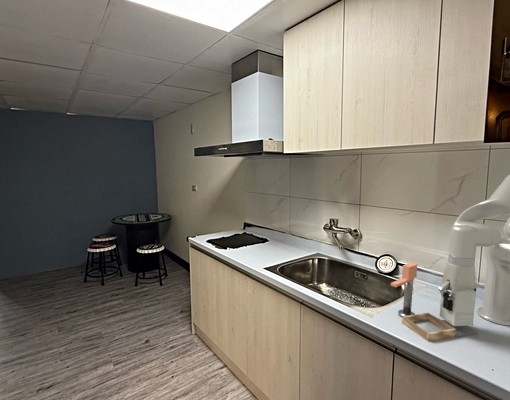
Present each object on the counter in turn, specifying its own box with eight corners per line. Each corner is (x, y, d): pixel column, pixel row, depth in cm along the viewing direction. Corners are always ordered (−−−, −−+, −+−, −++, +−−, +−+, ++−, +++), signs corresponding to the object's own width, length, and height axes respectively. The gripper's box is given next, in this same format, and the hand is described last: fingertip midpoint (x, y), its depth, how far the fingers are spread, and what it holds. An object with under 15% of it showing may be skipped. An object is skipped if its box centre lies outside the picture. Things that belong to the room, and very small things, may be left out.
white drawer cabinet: (457, 315, 108) (460, 282, 106) (473, 326, 100) (477, 291, 99) (438, 315, 107) (441, 283, 106) (453, 326, 100) (456, 291, 98)
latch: (416, 279, 112) (417, 264, 111) (396, 287, 104) (397, 271, 103) (410, 277, 114) (411, 262, 113) (390, 285, 106) (391, 269, 105)
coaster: (453, 320, 109) (453, 318, 109) (477, 333, 101) (477, 331, 101) (434, 323, 107) (434, 321, 107) (456, 337, 98) (456, 335, 98)
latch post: (407, 310, 116) (409, 276, 115) (419, 318, 111) (421, 282, 109) (394, 312, 115) (396, 277, 113) (406, 320, 109) (408, 283, 108)
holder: (427, 318, 110) (428, 312, 110) (455, 336, 99) (456, 329, 99) (402, 322, 107) (402, 316, 107) (428, 341, 96) (428, 334, 96)
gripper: (470, 255, 107) (466, 300, 109) (432, 259, 102) (428, 305, 104) (491, 261, 99) (486, 309, 101) (451, 266, 95) (446, 316, 97)
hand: (457, 307), depth 103 cm, fingers closed on white drawer cabinet, 8 cm apart
